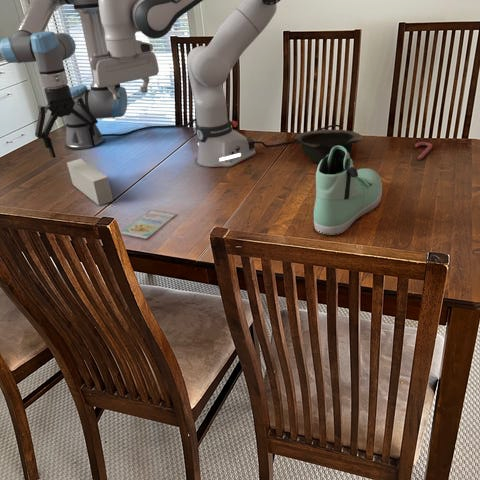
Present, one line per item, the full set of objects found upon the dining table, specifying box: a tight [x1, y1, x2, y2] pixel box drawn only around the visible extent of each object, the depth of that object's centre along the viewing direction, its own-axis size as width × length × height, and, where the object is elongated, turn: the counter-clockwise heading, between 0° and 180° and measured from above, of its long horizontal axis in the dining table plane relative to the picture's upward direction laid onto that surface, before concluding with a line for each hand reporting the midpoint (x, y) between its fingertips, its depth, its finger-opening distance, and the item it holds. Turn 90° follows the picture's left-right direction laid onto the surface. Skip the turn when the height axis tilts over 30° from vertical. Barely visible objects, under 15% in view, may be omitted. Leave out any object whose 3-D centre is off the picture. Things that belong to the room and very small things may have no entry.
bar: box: [66, 158, 114, 206], centre depth 159 cm, size 22×5×8 cm, turn 38°
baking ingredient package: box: [120, 209, 176, 239], centre depth 139 cm, size 9×1×15 cm
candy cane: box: [414, 141, 434, 161], centre depth 170 cm, size 6×15×2 cm, turn 145°
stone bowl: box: [292, 129, 365, 164], centre depth 172 cm, size 25×25×9 cm
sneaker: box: [313, 146, 383, 236], centre depth 133 cm, size 14×35×20 cm, turn 152°
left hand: (73, 151), depth 160 cm, fingers open, 13 cm apart
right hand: (131, 95), depth 148 cm, fingers open, 8 cm apart
